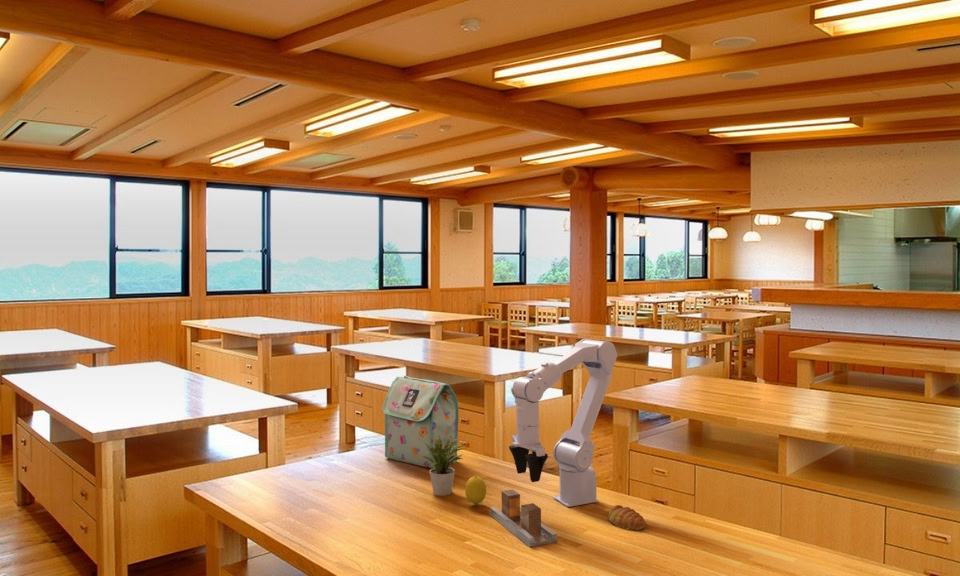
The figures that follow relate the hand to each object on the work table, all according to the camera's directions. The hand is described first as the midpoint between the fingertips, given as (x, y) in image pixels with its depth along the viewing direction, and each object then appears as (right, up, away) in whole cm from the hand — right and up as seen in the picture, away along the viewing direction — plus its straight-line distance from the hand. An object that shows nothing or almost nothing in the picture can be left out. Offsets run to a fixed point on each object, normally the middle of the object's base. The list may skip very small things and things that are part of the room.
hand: (528, 477), depth 179 cm
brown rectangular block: (-5, -9, -4) cm, 11 cm away
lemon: (-13, -10, +7) cm, 18 cm away
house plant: (-23, -9, +16) cm, 29 cm away
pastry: (+24, -10, -7) cm, 27 cm away
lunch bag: (-32, -8, +49) cm, 59 cm away
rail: (-2, -10, -9) cm, 14 cm away
